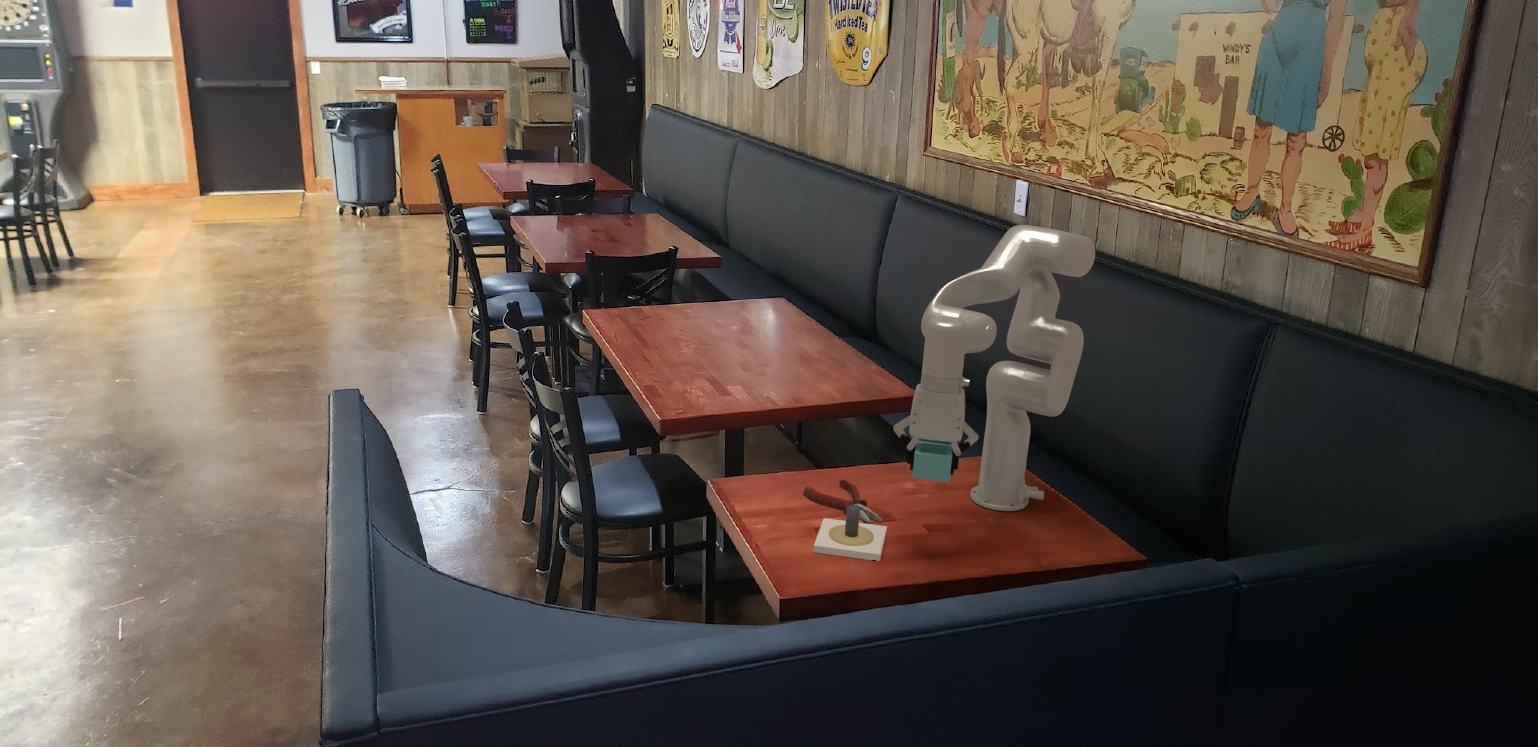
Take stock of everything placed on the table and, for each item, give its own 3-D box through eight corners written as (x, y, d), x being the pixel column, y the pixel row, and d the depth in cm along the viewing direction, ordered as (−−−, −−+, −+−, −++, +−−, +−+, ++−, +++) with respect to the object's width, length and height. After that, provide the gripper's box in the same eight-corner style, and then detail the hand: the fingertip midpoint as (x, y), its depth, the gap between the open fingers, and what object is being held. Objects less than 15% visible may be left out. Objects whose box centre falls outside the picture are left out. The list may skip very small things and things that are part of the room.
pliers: (854, 532, 231) (855, 520, 231) (801, 496, 248) (801, 485, 247) (898, 522, 237) (900, 511, 236) (844, 487, 253) (845, 476, 253)
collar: (950, 468, 221) (953, 444, 220) (949, 482, 214) (951, 457, 213) (914, 464, 222) (916, 440, 221) (912, 477, 216) (914, 453, 214)
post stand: (886, 533, 231) (889, 498, 229) (879, 561, 219) (883, 525, 216) (823, 524, 233) (825, 490, 231) (813, 552, 221) (815, 516, 219)
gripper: (988, 381, 215) (977, 468, 220) (896, 371, 218) (888, 457, 223) (987, 393, 208) (977, 482, 213) (893, 383, 211) (885, 471, 216)
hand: (931, 469), depth 218 cm, fingers closed on collar, 7 cm apart
